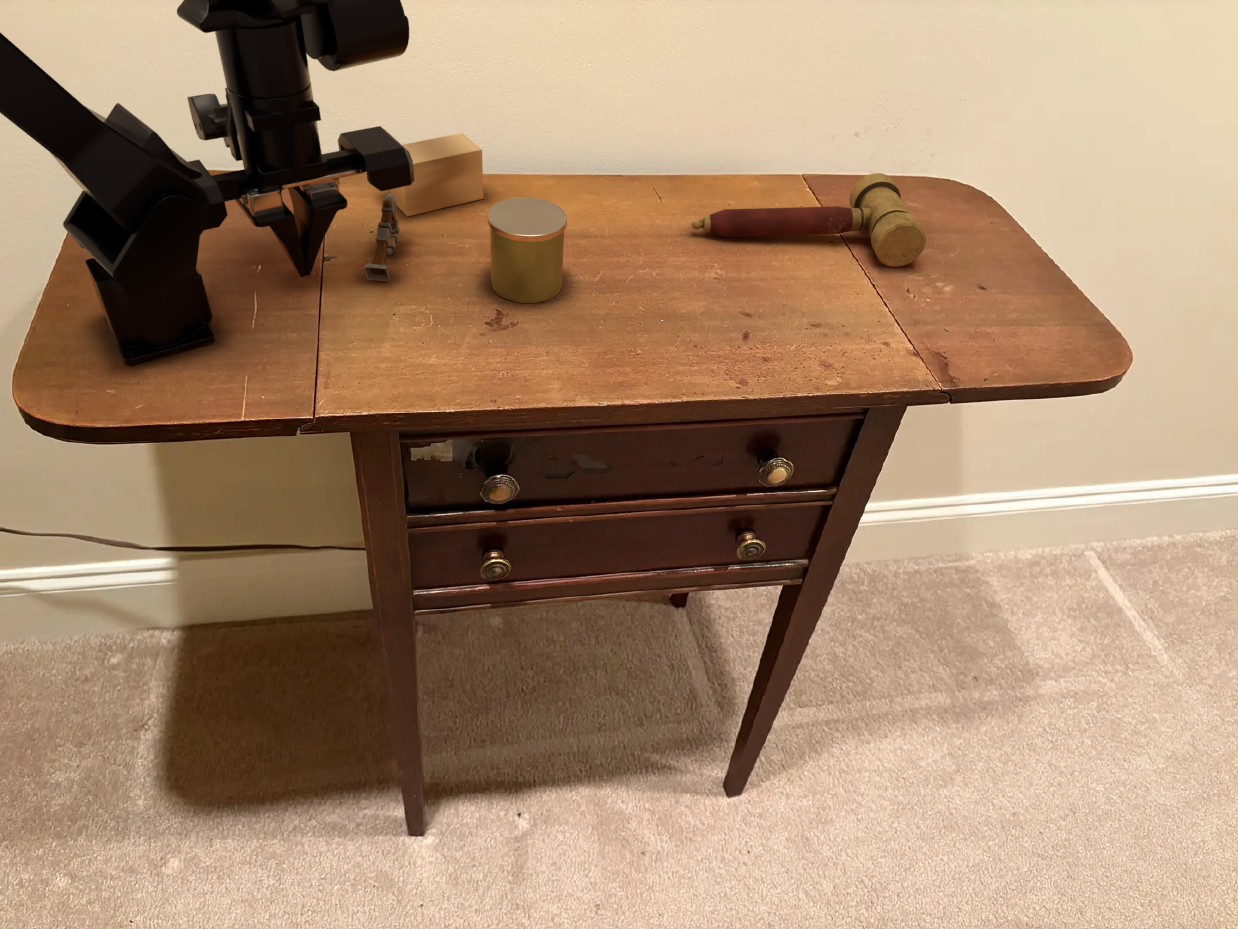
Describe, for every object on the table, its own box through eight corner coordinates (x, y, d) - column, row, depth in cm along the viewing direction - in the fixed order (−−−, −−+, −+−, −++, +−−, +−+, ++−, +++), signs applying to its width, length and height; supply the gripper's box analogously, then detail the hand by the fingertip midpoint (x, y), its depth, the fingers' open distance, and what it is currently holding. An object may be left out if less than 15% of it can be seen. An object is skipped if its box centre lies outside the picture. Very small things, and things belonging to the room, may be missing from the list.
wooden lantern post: (407, 222, 83) (399, 188, 79) (394, 297, 80) (385, 267, 75) (387, 220, 83) (378, 187, 78) (373, 296, 80) (363, 265, 75)
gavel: (700, 228, 81) (686, 176, 88) (696, 273, 84) (683, 219, 91) (932, 222, 82) (899, 171, 90) (920, 266, 85) (889, 214, 93)
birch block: (407, 216, 85) (402, 165, 82) (389, 198, 88) (383, 147, 84) (483, 198, 89) (482, 149, 86) (464, 181, 91) (462, 132, 88)
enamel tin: (512, 312, 75) (512, 242, 71) (475, 275, 79) (473, 206, 75) (578, 292, 78) (582, 224, 74) (539, 257, 82) (540, 190, 78)
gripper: (349, 29, 74) (370, 207, 85) (99, 62, 66) (157, 255, 76) (409, 78, 68) (423, 264, 78) (141, 122, 59) (198, 323, 70)
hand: (303, 273), depth 76 cm, fingers closed
